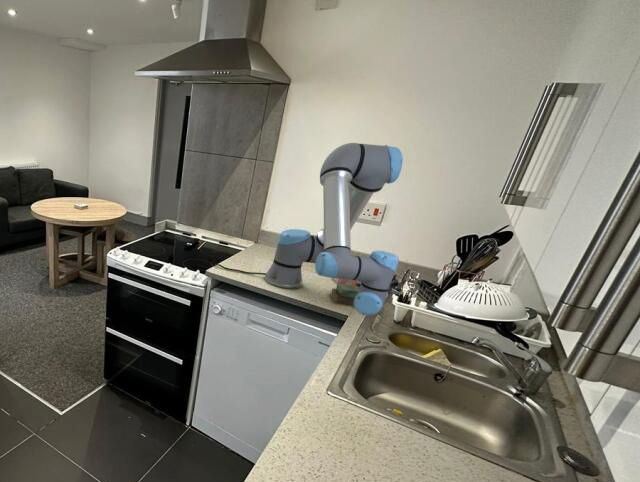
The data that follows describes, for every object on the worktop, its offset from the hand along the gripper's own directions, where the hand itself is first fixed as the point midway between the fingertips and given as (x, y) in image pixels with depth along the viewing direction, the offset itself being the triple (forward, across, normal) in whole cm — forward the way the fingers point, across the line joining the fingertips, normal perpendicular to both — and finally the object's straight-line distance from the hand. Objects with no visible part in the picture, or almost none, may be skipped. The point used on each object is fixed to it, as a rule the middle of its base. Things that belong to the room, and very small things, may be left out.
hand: (385, 275), depth 148 cm
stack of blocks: (+27, -10, -14) cm, 32 cm away
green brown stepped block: (0, -10, -14) cm, 18 cm away
